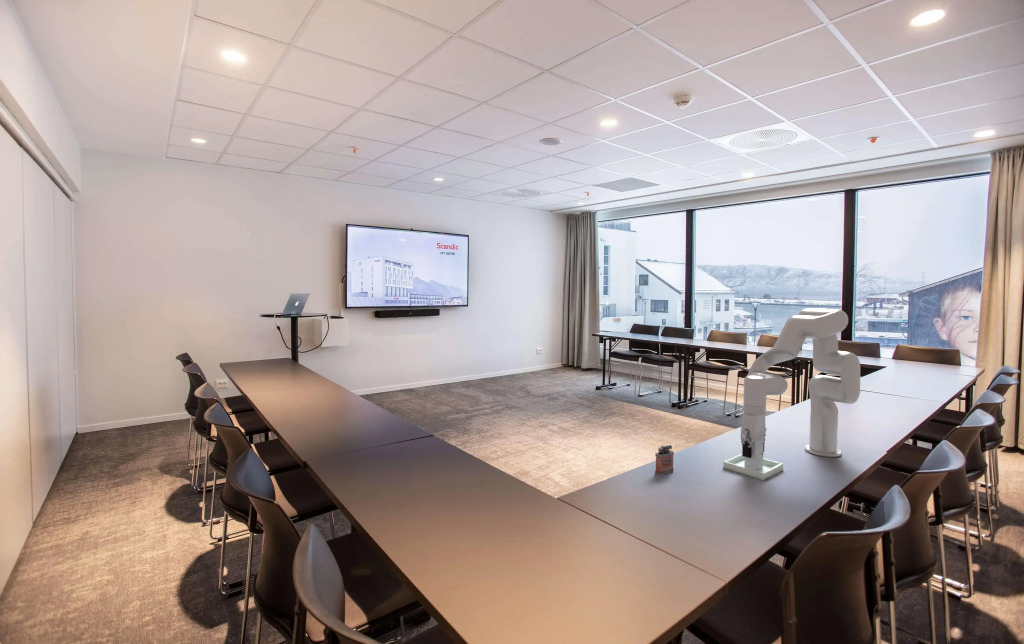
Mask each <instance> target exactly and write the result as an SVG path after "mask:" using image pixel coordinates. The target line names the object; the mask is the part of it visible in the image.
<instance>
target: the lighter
mask: <svg viewBox="0 0 1024 644" xmlns="http://www.w3.org/2000/svg"><path fill="white" fill-rule="evenodd" d="M672 449H673V445H671V444H667V445H661V446H660V447H658V449H657V451H658V452H655V453H654V454H655V472H654V473H656V474H655V475H657V474H665V475H668V474H667V473H669V474H671V473H670V472H672V473H673V471H675V470H674V454H675V451H674V450H672Z"/></svg>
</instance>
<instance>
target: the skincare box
mask: <svg viewBox="0 0 1024 644" xmlns="http://www.w3.org/2000/svg"><path fill="white" fill-rule="evenodd" d="M749 439H751V438H749ZM747 442H748V444H749V441H747ZM763 442H764V441H763V438H761V439H758V440H756V441H753V442H752V444H751V447H752V457H751V458H747V457H745V461H744V467H746V468H749V469H753V470H758V469H760V468H763V458H764V452H763Z"/></svg>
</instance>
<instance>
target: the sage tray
mask: <svg viewBox="0 0 1024 644" xmlns="http://www.w3.org/2000/svg"><path fill="white" fill-rule="evenodd" d="M744 461H745V457H744V456H742V453H740V454H737V455H735V456H733V457H731V458H729V459H726V460H724V461H723V462H722V464H723V467H722V469H725V470H729V471H731V472H734V473H737V474H742V475H744V476H748V477H750V478H753V479H757V480H761V481H766V480H767V479H770V478H771V477H774V476H775V475H777V474H779V473H780V472H783V471H784V463H782V462H779V461H776V460H775V461H774V460H771V459H768V458H764V457H763V468H760V469H758V470H753V469H749V468H746V467H744Z"/></svg>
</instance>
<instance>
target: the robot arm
mask: <svg viewBox="0 0 1024 644" xmlns="http://www.w3.org/2000/svg"><path fill="white" fill-rule="evenodd" d="M848 324H849V317H848V314H847V313H846V312H845V311H843V309H833V308H829V309H828V308H813V307H812V308H804V309H802V310H800V311H799V313H798V315H793V316H790V317H788V318H787V320H786V322H785V324H784V326H783V327H782V329H781V331H780V334H779V335H778V338H777V339H776V342H775V343H774V345H773V347H772V348H770V349H768V350H767V351H765V352H764V353H763V354H761V355H760V356H758V357H757V358H756V359H754V362H753V363H752V364H751V366H750V368H749V371H748V373H747V375H746V376H744V379H743V402H742V403H743V406H742V407H743V408H742V410H743V411H742V412H743V413H742V419H741V425H740V426H741V427H740V441H741V447H742V449H741V451H742V452H741V454H742V456H744V457H747V458H751V457H752V447H751V444H752V442H753V441H756V440H758V439H761V438H763V453H765V441H766V435H767V434H766V433H767V427H766V415H767V396H781V395H783V394H784V393H785V392H786V391H787V390H788V385H789V384H788V381H787V379H786V378H784V377H783V376H781V375H778V374H772V373H768V372H767V370H768V369H769V368H771V367H772V366H774V365H776V364H779V363H783V362H784V363H785V362H786V361H790V360H794V359H796V358H797V357H798V355H799V353H800V351H801V349H802V347H803V345H804V343H805V341H806V339H812V365H813V368H814V370H815V371H817V372H820V373H824V374H830V375H834V376H830V375H824V374H823V375H822V374H819V375H815V376H812V377H811V378H810V379H809V382H808V392H809V397H810V414H809V417H810V418H809V419H810V421H809V444H805V446H804V450H805V451H806V452H808V453H810V454H812V455H816V456H821V457H827V458H828V457H829V458H836V457H837V458H838V457H840V456H842V451H841V450H840V449H839V448H838V430H839V409H838V406H837V404H836V403H841V404H845V405H846V404H847V405H852V404H855V403H856V402H857V401H858V400H859V398H860V394H861V361H860V358H859V357H858V356H857V355H856V354H855V353H853V352H850V351H843V350H839V349H840V348H839V342H838V341H839V339H838V336H837V335H838V333H840V332H843V331H844V330H845V329H846V328H847V326H848ZM835 375H837V376H839V377H836V376H835ZM749 438H751V439H749ZM747 441H749V444H748V442H747Z"/></svg>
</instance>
